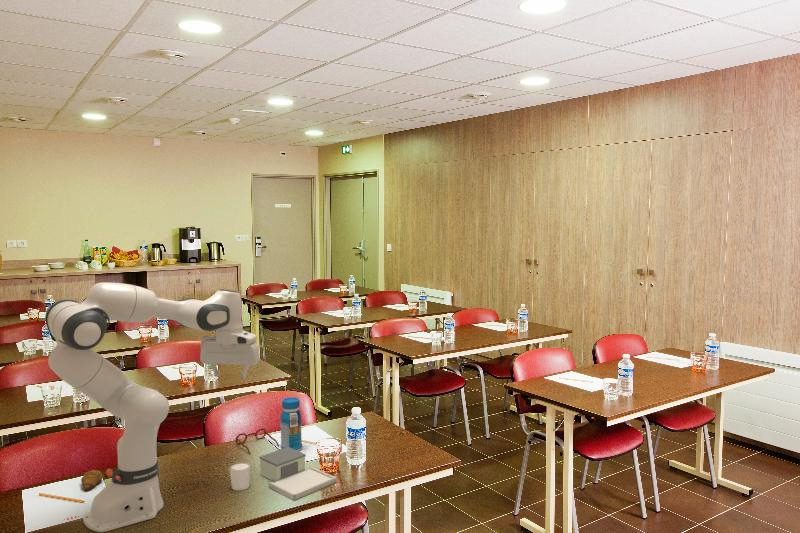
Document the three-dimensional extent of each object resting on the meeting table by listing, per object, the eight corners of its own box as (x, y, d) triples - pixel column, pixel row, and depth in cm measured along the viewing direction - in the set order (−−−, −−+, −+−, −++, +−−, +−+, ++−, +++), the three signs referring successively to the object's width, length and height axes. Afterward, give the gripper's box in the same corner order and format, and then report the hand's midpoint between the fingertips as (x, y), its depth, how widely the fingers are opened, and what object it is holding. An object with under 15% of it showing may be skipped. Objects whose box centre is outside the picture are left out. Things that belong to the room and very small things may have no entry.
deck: (294, 500, 191) (294, 480, 190) (250, 478, 208) (250, 459, 207) (336, 482, 204) (336, 463, 204) (292, 462, 221) (291, 445, 220)
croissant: (98, 491, 198) (97, 477, 197) (75, 494, 196) (75, 479, 196) (107, 475, 211) (107, 461, 210) (86, 476, 209) (86, 463, 209)
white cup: (253, 482, 204) (253, 462, 203) (246, 491, 197) (246, 471, 197) (234, 481, 205) (234, 462, 204) (226, 490, 198) (226, 470, 197)
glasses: (265, 438, 246) (264, 426, 246) (280, 447, 236) (280, 435, 236) (235, 446, 238) (234, 434, 238) (249, 456, 228) (249, 443, 228)
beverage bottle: (276, 452, 231) (276, 401, 229) (286, 444, 239) (285, 395, 237) (297, 454, 229) (296, 403, 227) (305, 446, 237) (305, 397, 235)
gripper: (196, 337, 200) (197, 377, 201) (253, 339, 197) (254, 380, 198) (205, 334, 206) (206, 373, 207) (261, 335, 203) (261, 375, 204)
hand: (230, 376), depth 202 cm, fingers open, 8 cm apart
